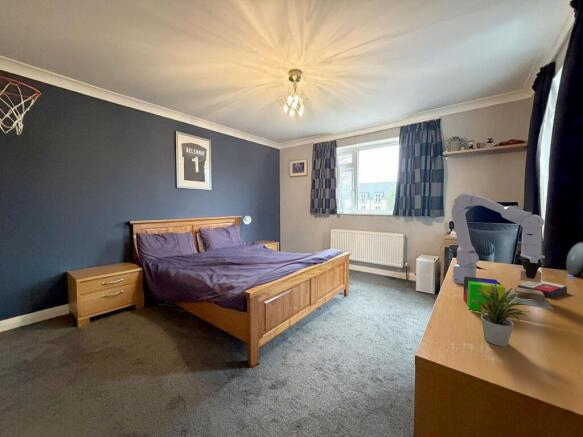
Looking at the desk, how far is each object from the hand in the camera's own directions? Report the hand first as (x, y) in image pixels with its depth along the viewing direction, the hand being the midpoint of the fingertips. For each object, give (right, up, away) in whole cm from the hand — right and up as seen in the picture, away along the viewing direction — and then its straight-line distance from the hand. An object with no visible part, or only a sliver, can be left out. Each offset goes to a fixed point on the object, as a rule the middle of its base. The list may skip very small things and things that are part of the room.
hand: (529, 276), depth 100 cm
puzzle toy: (-26, -10, -8) cm, 29 cm away
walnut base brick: (0, -8, +1) cm, 8 cm away
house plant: (-41, -11, -32) cm, 53 cm away
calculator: (+12, -9, +7) cm, 17 cm away
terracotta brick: (0, -1, 0) cm, 1 cm away
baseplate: (-6, -9, 0) cm, 11 cm away
